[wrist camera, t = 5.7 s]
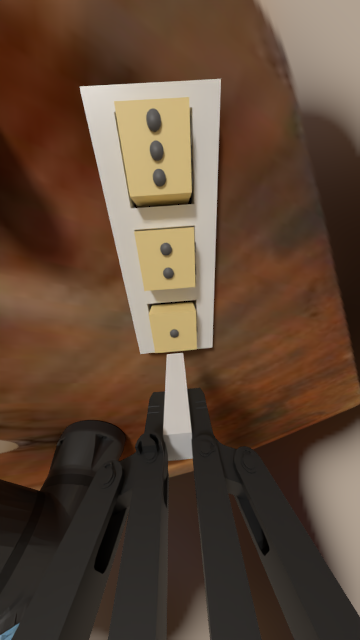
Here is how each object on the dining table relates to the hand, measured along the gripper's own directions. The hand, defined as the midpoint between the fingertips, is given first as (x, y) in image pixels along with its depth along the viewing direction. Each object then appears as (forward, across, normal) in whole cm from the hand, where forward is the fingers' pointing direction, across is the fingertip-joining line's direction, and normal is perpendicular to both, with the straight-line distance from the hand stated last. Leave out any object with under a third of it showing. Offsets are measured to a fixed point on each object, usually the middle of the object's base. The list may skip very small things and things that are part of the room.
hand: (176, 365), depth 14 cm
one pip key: (+10, 0, 0) cm, 10 cm away
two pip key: (+10, 0, -9) cm, 13 cm away
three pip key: (+11, 0, -18) cm, 21 cm away
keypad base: (+12, 0, -9) cm, 15 cm away
